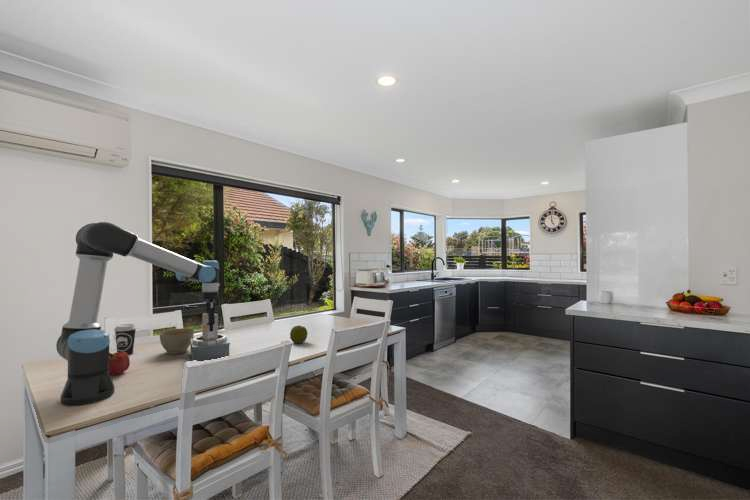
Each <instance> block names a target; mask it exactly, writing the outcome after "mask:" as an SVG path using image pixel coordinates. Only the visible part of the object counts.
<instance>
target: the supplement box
mask: <svg viewBox="0 0 750 500" xmlns="http://www.w3.org/2000/svg"><path fill="white" fill-rule="evenodd" d="M201 319H202V328H201V329H202V332H201V333H202V339H204V340H215V339H218V334H219V314H218V313H215V324H214V338H208V325H207V324H208V313H206V312H205V313H202V318H201ZM210 322H213V321H210Z"/></svg>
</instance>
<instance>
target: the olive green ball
mask: <svg viewBox="0 0 750 500" xmlns="http://www.w3.org/2000/svg"><path fill="white" fill-rule="evenodd" d="M308 333H309V332H308V330H307V328H306V327H305V326H302V325H296V326H293V327H292V328H291V329H290V333H289V338H290V340H291V341H292V342H293V343H294V344H298V343H300V344H302V342H303V343H304V342H306V340H307V338H308Z"/></svg>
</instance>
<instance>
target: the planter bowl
mask: <svg viewBox="0 0 750 500" xmlns="http://www.w3.org/2000/svg"><path fill="white" fill-rule="evenodd" d="M194 333H195V329H194V328H188V327H187V328H183V327H182V328H173V329H168V330H163V331H161V332H159V333H158V335H159V341H160V345H161V346H162V348H163V349H164V350H165V352H166V354H169V355H176V354H183V353H185V352H187V351H188V349H189V347H191V342H190V338H193V337H195V336H194V335H195V334H194Z"/></svg>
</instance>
